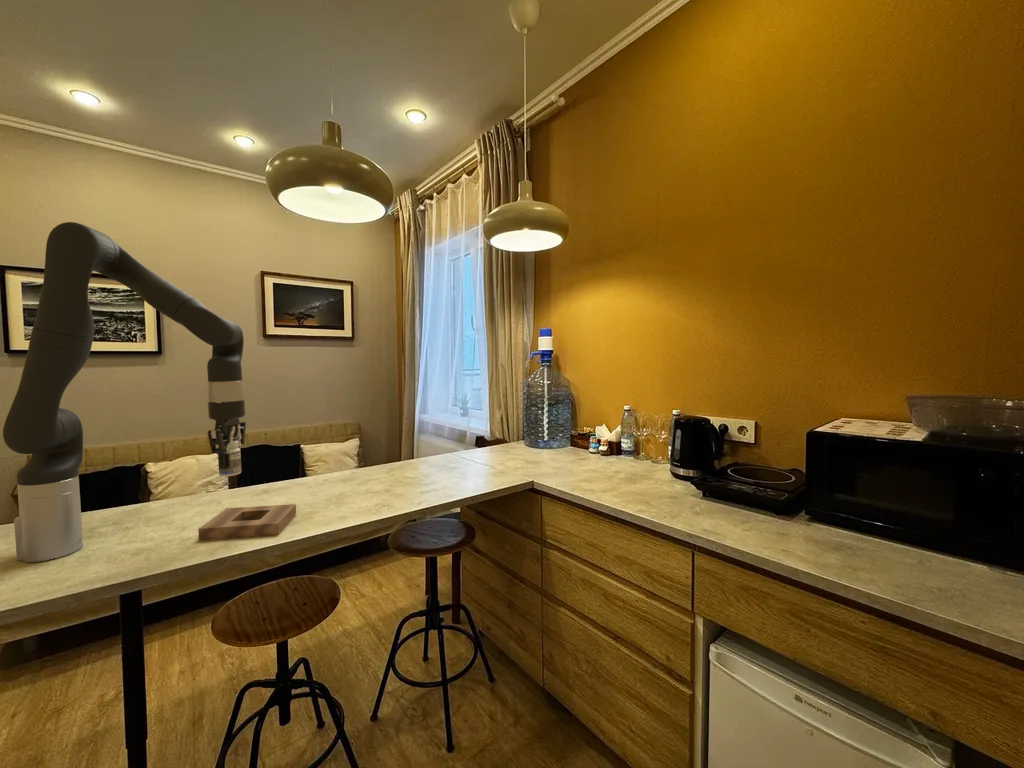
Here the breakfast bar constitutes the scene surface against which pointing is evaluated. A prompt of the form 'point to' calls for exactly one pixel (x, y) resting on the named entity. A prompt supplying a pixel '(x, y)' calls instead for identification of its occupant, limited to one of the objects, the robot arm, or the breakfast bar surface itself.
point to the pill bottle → (233, 461)
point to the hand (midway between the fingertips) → (230, 465)
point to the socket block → (248, 522)
